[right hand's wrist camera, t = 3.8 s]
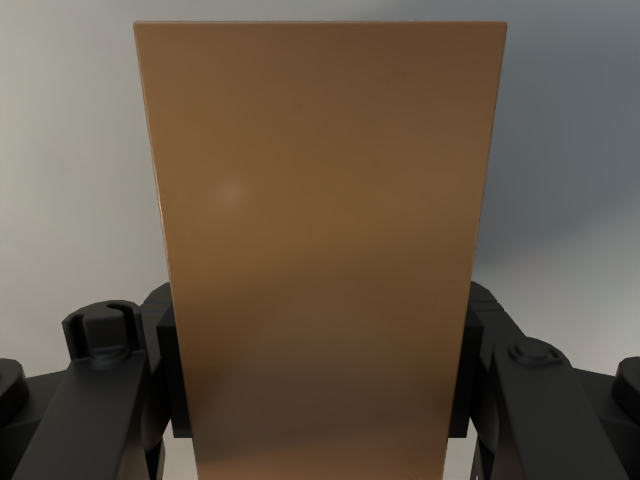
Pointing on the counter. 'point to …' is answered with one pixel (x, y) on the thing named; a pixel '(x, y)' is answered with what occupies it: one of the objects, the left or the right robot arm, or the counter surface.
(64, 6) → the counter surface
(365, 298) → the bar
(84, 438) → the right robot arm
